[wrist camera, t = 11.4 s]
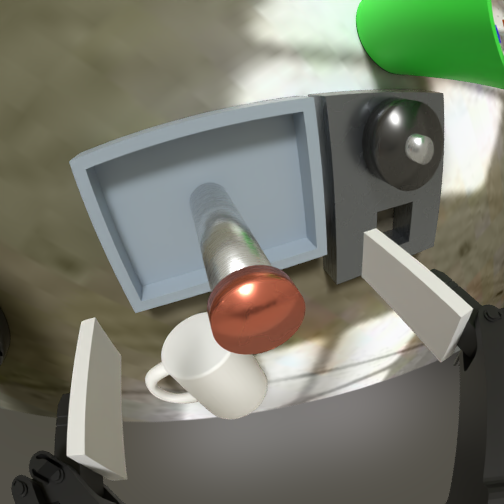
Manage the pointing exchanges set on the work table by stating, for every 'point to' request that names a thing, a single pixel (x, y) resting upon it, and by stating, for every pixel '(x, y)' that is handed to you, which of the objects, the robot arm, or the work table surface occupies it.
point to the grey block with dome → (379, 170)
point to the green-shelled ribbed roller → (436, 38)
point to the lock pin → (241, 279)
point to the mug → (208, 371)
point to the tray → (199, 172)
